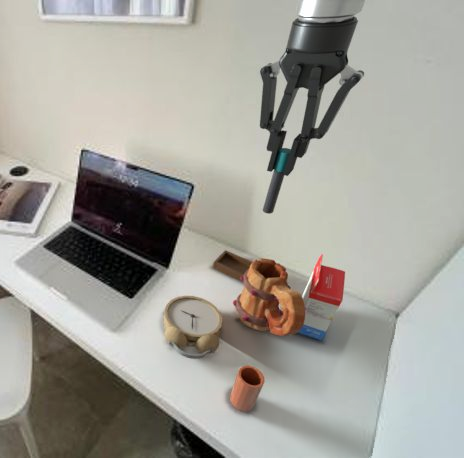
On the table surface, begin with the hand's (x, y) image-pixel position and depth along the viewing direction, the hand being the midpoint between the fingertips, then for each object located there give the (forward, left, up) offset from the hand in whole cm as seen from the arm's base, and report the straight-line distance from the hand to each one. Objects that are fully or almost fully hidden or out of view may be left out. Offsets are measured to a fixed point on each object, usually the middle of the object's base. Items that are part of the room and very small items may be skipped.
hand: (280, 169), depth 63 cm
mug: (-9, +6, -31) cm, 33 cm away
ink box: (-13, -4, -31) cm, 34 cm away
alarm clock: (-3, +18, -31) cm, 36 cm away
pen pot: (-18, +21, -31) cm, 41 cm away
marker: (0, 0, -9) cm, 9 cm away
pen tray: (+3, -3, -31) cm, 31 cm away
